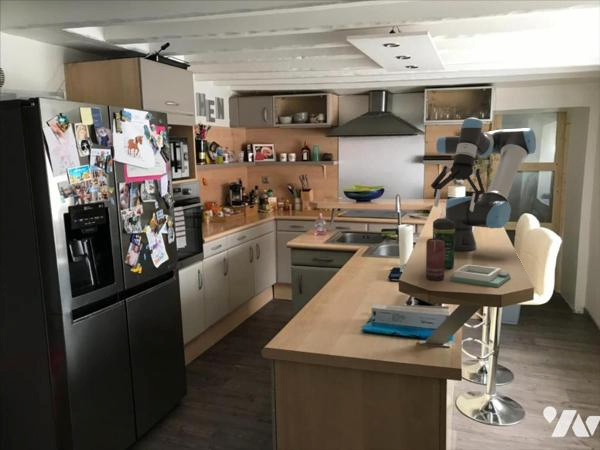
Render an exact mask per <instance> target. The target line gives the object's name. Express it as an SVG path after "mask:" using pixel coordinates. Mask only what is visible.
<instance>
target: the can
mask: <svg viewBox="0 0 600 450" xmlns="http://www.w3.org/2000/svg"><path fill="white" fill-rule="evenodd" d="M425 245H426V249H425V250H426V252H425V254H426V258H425V260H426V261H425V262H426V264H425V278H426V279H427V280H429V281H432V282H438V281H439V282H441V281H444V279H445V269H444V258H445V242H444V240H443V239H433V238H428V239H427V240H426V244H425Z"/></svg>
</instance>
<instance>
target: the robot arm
mask: <svg viewBox="0 0 600 450" xmlns="http://www.w3.org/2000/svg"><path fill="white" fill-rule="evenodd" d="M482 129H483V121H482V120H481V119H479V118H476V117H467V118H465V119H464V120H463V121H462V125H461V127H460V133H459V135H452V136H450V135H449V136H448V135H447V136H446V135H445V136H440V137H439V138H437V141H436V145H435V147H436V151H437V153H438V154H439V155H454V157H453V162H452V166H450V167H449V166H447V165H444V166H443V168H442V171H440V173H439V174H438V176H437V177H436V178H435V180H434V181H433V182H431V185H430V187H431V188H432V189H433V190H434V192H433V198H434V203H433V206H435V208H438V206H439V202H440V198H441V193H442V191H441V190H442V189H443V188H445V187H446V186H447V185H448V184H449V183H450V182H452V181H454V180H456V181H457V180H458V181H465V180H466V181H467V182H468V183H469V185H470V186H471V188H472V190H473V191H474V192H473V193H472V196H460V197H452V198H448V199H447V200H446V202H445V209H444V210H445V218H446V219H448V220H450V221H452V222H454V223H455V240H454V252H467V251H474V250H477V242H476V239H475V235H474V232H473V231H474V230H473V227H477V228H479V227H480V228H487V229H502V228H504V227H505V226H506V225H507V224H508V223H509V220H510V218H511V212H512V207H511V204H510V203H509V199H508V198H509V194H510V192H511V189H512V186H513V183H514V181H515V179H516V176H517V173H518V171H519V169H520V167H521V163H522V162H524V161H525V160H526V159H527V157H528V156H529V155H533V154H534V153H535V152H536V150H537V148H536V147H537V141H536V140H537V139H536V134H535V131H534V130H533V129H532V128H530V127H528V128H527V127H526V128H525V127H522V128H508V129H507V128H505V129H503V128H501V129H495V130H494V129H493V130H490V131H484V132H483V131H482ZM491 154H492V155H493V154H494V155H501V157H500V159H499V163H498V164H497V167H496V169H495V172H494V174H493V176H492V180H491V181H490V184H489V186H488V189H487V191H485V188H484V184H483V181H482V178H481V170H480V168H476V169H474V164H475V158H476V156H478V157H479V158H486V157H489V156H490V155H491ZM449 172H451V173H450V174H449V175H448V176H447V174H448V173H449ZM473 174H474V176H475V178H476V181H477V183H478V186H479V189H480V190H478V188H477V186H476V185H475V183H474V182H473V179H471V175H473ZM445 176H447V177H445ZM480 196H481V197H480ZM479 197H480V198H479Z"/></svg>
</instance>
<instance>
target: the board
mask: <svg viewBox="0 0 600 450" xmlns="http://www.w3.org/2000/svg"><path fill="white" fill-rule="evenodd" d="M453 271H454V272H453V275H450V277H449V280H450V281H453V282H459V283H465V284H466V283H467V284H473V285H479V286H487V287H493V288H499V287H500V286H501V285H503V284H504V283H506V282H507V281H508V280H510V279H511V274H510V273H509V272H506V271H505V272H504V271H502V268H501V267H500V268H499V267H491V266H485V265H484V266H483V265H475V264H464V265H462V266H461V267H459V268H457V269H456V270H453Z"/></svg>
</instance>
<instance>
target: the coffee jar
mask: <svg viewBox="0 0 600 450" xmlns="http://www.w3.org/2000/svg"><path fill="white" fill-rule="evenodd" d="M432 239H443V240H444V242H445V258H444V270H447V269H453V268H454V266H455V251H454V240H455V223H454V222H452V221H450V220H448V219H446V217H445V218H443V217H442V218H436V219H435V220H433V222H432Z"/></svg>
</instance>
